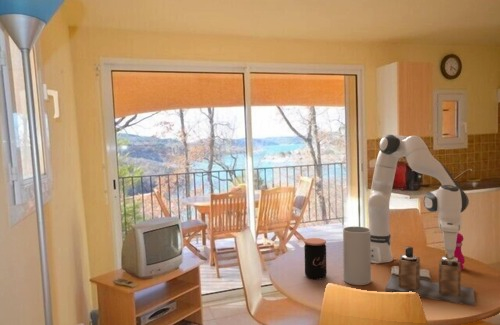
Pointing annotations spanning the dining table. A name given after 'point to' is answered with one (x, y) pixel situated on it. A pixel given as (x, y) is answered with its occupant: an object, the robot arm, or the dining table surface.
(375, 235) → the robot arm
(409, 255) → the plunger left
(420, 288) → the grey holder stand
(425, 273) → the washcloth
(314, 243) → the coffee jar
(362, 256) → the cylinder vase
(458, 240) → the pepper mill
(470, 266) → the dining table surface
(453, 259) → the plunger right
